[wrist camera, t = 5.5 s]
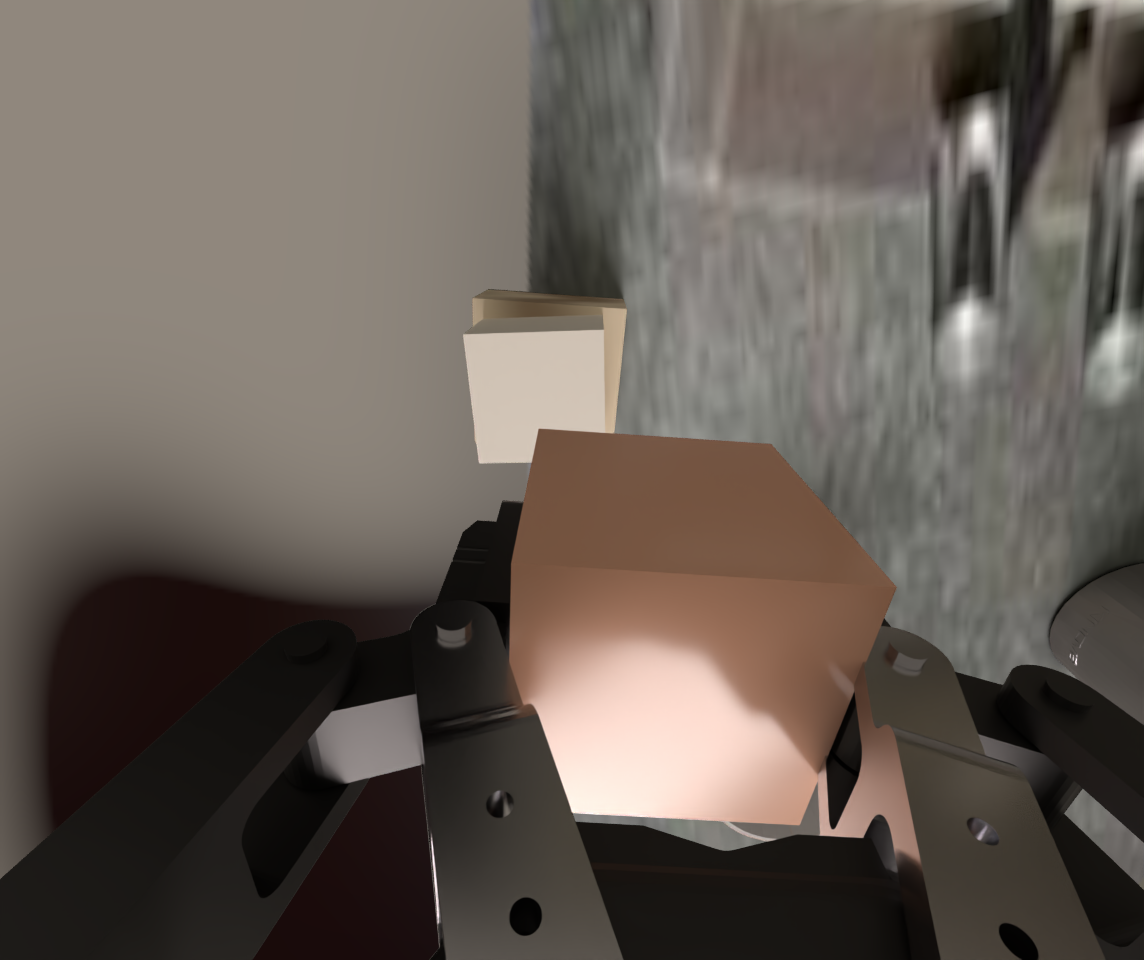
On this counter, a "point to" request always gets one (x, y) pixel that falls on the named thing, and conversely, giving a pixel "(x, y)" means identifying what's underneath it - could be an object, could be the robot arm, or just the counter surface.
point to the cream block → (534, 381)
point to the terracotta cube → (686, 624)
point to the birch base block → (565, 305)
